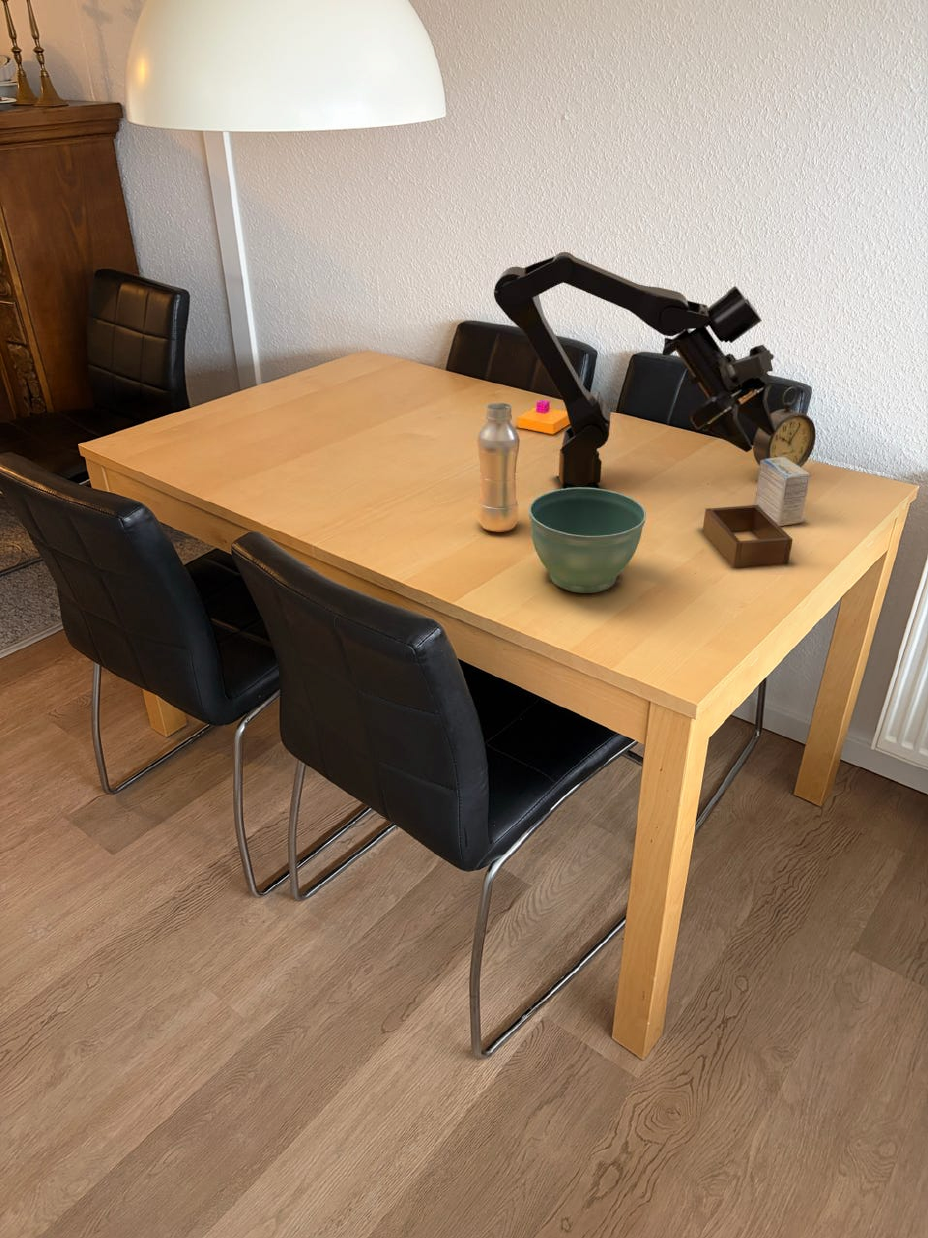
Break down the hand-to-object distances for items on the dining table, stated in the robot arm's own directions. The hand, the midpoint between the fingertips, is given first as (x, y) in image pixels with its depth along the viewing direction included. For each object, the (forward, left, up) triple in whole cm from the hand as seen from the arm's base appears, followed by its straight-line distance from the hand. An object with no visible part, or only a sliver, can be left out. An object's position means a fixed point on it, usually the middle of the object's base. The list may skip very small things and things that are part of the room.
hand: (761, 442), depth 156 cm
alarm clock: (+10, +13, -12) cm, 20 cm away
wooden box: (-7, -13, -12) cm, 19 cm away
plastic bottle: (-43, 0, -12) cm, 44 cm away
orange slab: (-24, +47, -9) cm, 54 cm away
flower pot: (-34, -19, -12) cm, 41 cm away
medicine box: (+3, -3, -12) cm, 13 cm away
